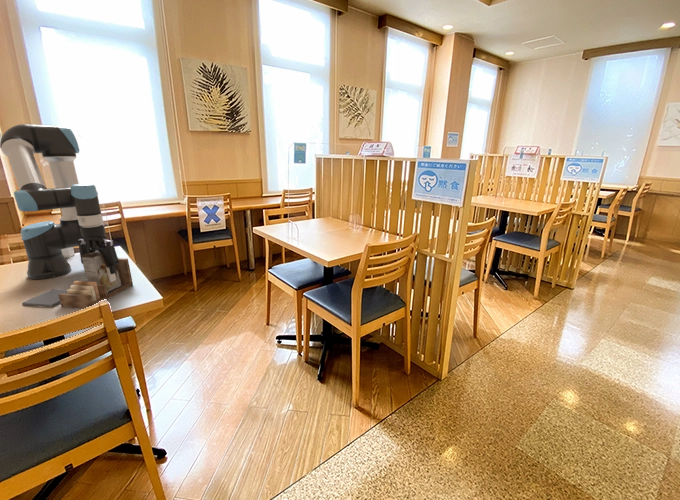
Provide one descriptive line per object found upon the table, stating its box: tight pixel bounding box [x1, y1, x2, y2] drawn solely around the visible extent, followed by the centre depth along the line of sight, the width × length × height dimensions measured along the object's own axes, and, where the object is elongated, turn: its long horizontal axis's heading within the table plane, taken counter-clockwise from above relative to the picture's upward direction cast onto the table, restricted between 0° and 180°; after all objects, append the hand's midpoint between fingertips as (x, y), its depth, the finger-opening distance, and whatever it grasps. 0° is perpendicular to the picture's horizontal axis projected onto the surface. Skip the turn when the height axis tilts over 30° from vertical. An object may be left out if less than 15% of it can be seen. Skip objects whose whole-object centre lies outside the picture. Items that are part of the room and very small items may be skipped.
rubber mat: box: [21, 288, 68, 308], centre depth 125 cm, size 12×12×1 cm
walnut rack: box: [58, 257, 134, 309], centre depth 127 cm, size 12×21×12 cm, turn 174°
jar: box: [61, 247, 75, 259], centre depth 170 cm, size 9×8×12 cm
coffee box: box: [80, 250, 122, 293], centre depth 130 cm, size 9×6×16 cm
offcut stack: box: [66, 280, 100, 302], centre depth 121 cm, size 8×4×8 cm, turn 84°
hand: (104, 280), depth 131 cm, fingers closed on coffee box, 7 cm apart
